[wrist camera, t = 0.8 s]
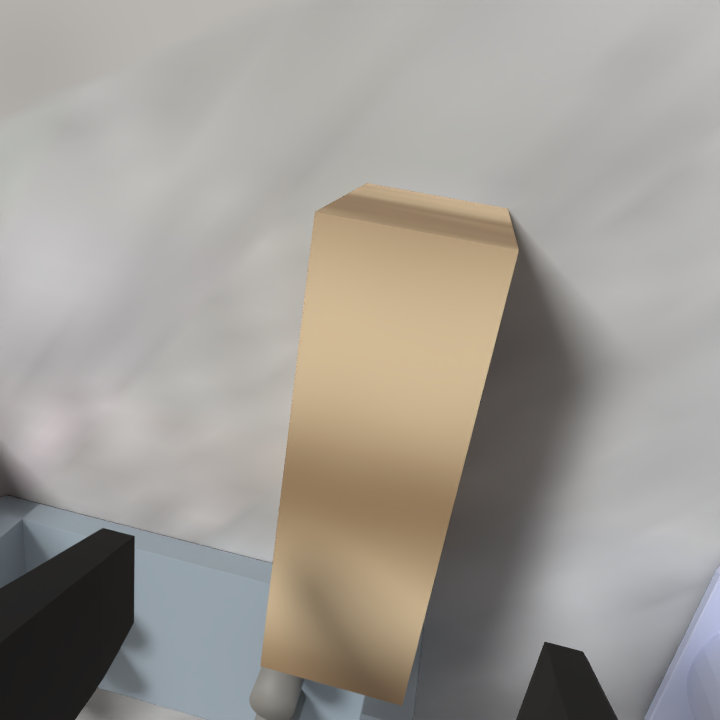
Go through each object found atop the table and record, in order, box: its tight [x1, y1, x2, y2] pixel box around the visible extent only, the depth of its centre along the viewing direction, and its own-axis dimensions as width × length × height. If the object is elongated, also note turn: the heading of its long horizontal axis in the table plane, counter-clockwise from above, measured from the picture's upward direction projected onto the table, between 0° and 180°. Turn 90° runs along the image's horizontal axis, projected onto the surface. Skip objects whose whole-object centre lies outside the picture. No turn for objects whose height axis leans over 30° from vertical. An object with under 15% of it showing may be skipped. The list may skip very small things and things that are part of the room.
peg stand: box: [0, 495, 425, 720], centre depth 23 cm, size 17×8×5 cm, turn 81°
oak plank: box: [260, 183, 519, 706], centre depth 17 cm, size 12×4×6 cm, turn 171°
